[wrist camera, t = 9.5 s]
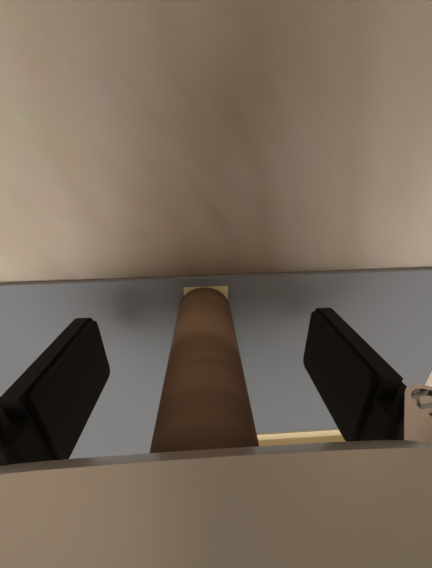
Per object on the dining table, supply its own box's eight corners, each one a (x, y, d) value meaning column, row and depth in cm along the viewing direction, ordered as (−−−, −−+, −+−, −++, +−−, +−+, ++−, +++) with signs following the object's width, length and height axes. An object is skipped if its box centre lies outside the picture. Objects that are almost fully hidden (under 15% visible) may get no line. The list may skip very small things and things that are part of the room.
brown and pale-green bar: (230, 438, 17) (250, 630, 10) (193, 441, 17) (184, 636, 10) (229, 286, 12) (271, 450, 5) (176, 288, 12) (131, 460, 4)
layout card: (-89, 286, 12) (-100, 290, 12) (473, 265, 13) (483, 268, 13) (56, 518, 22) (53, 525, 22) (365, 495, 23) (368, 502, 23)
